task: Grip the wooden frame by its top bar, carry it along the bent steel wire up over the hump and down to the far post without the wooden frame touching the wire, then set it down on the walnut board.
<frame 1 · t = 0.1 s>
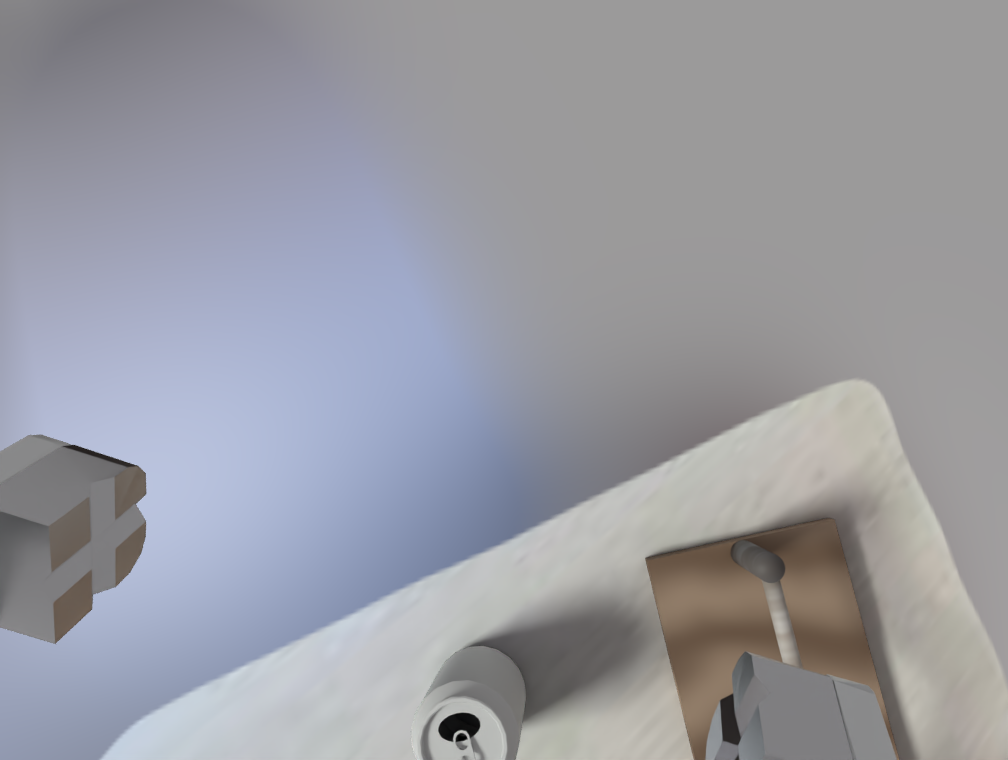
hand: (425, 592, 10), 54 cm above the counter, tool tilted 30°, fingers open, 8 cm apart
can: (481, 689, 63), on the counter
buzz board: (785, 732, 61), on the counter
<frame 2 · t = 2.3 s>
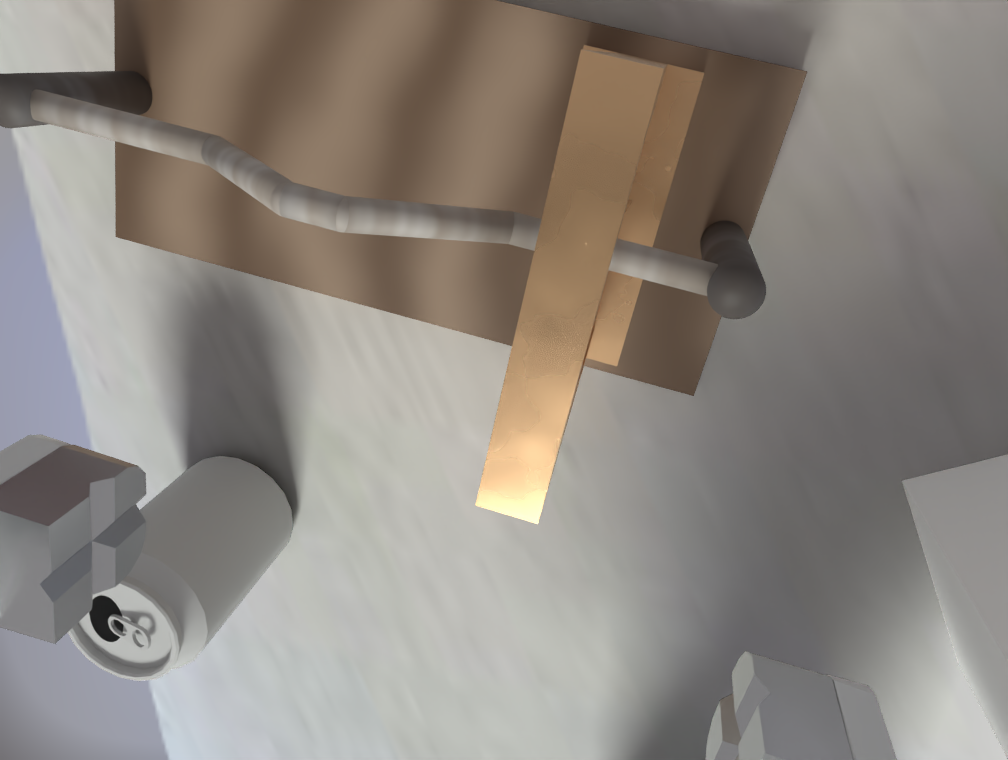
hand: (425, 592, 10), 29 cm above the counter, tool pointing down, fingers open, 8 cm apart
can: (244, 501, 48), on the counter
wooden frame: (603, 212, 35), point 1 cm above the counter, touching buzz board
buzz board: (425, 161, 37), on the counter
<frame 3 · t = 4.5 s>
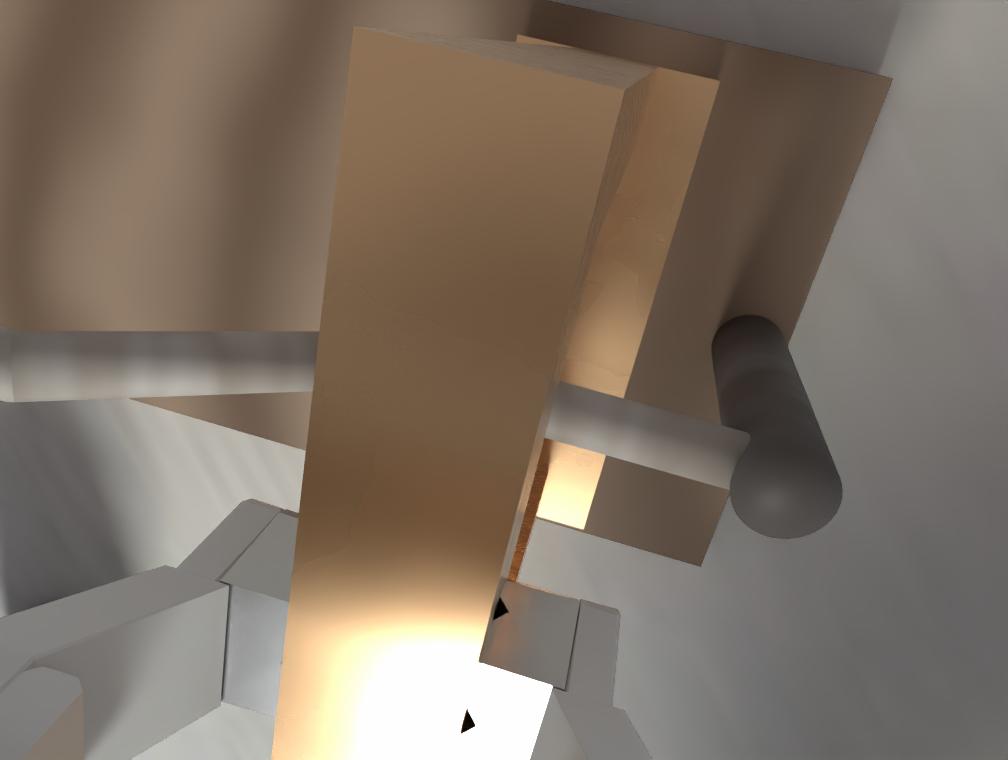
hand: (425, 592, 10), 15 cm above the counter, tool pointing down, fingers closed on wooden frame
wooden frame: (560, 298, 22), point 1 cm above the counter, touching buzz board, gripper
buzz board: (293, 213, 25), on the counter
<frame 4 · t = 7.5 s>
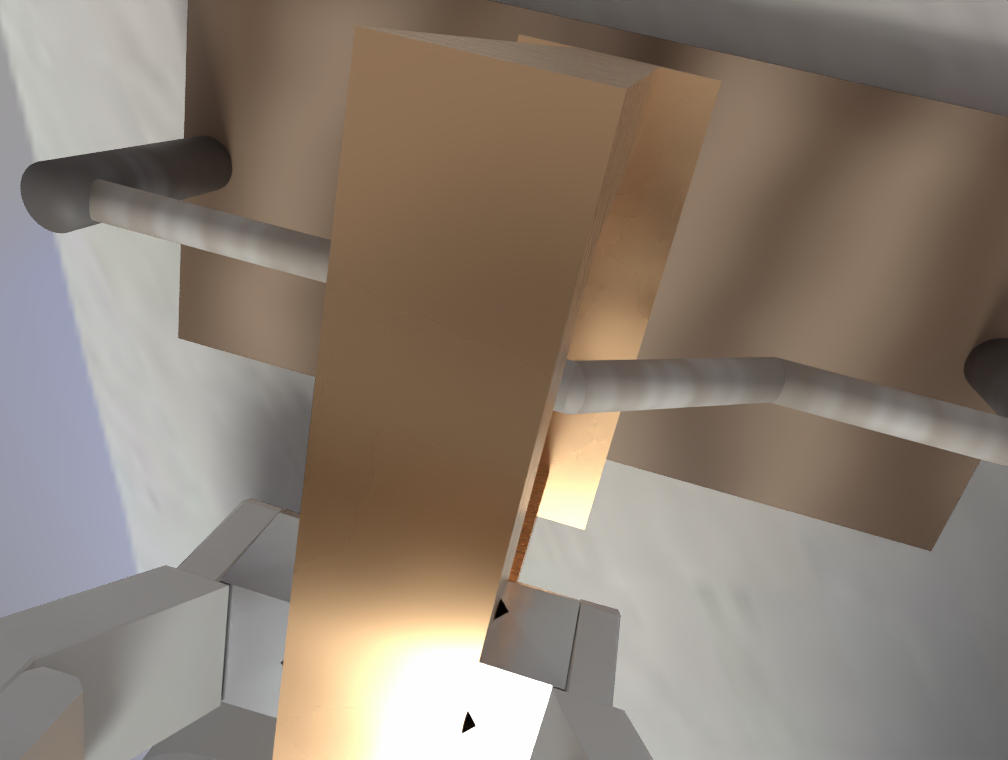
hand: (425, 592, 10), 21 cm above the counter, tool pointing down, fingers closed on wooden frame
can: (324, 640, 39), on the counter
wooden frame: (561, 298, 22), point 7 cm above the counter, touching gripper
buzz board: (585, 250, 29), on the counter
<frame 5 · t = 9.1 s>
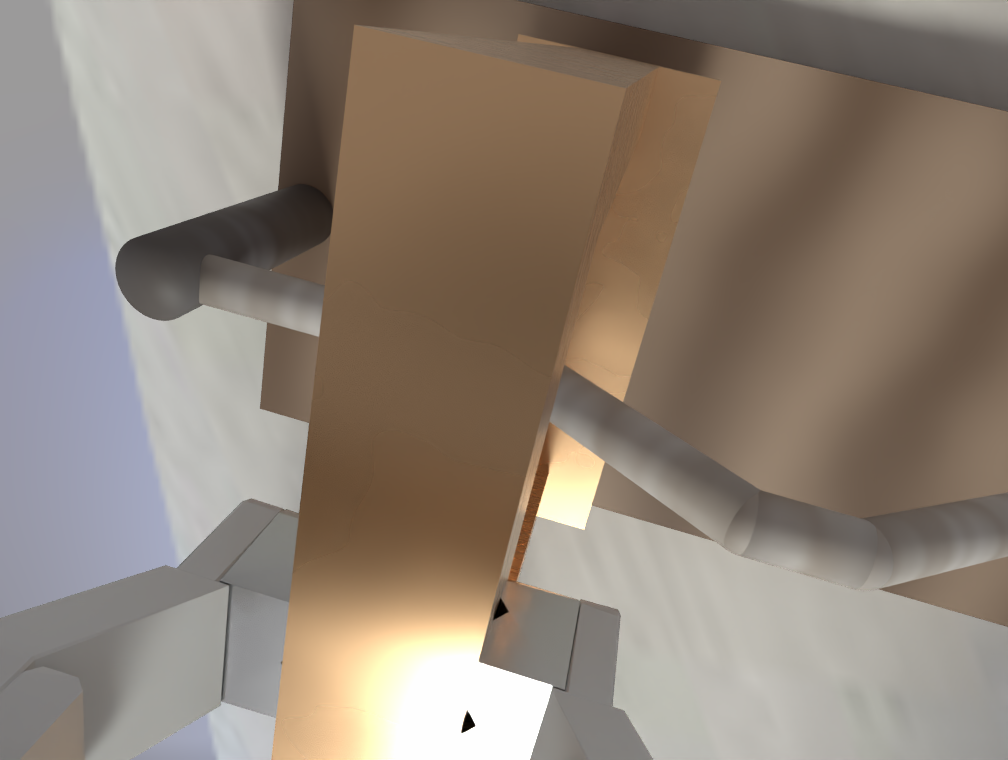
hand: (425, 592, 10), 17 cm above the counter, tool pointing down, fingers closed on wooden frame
wooden frame: (560, 298, 22), point 3 cm above the counter, touching gripper
buzz board: (743, 317, 25), on the counter
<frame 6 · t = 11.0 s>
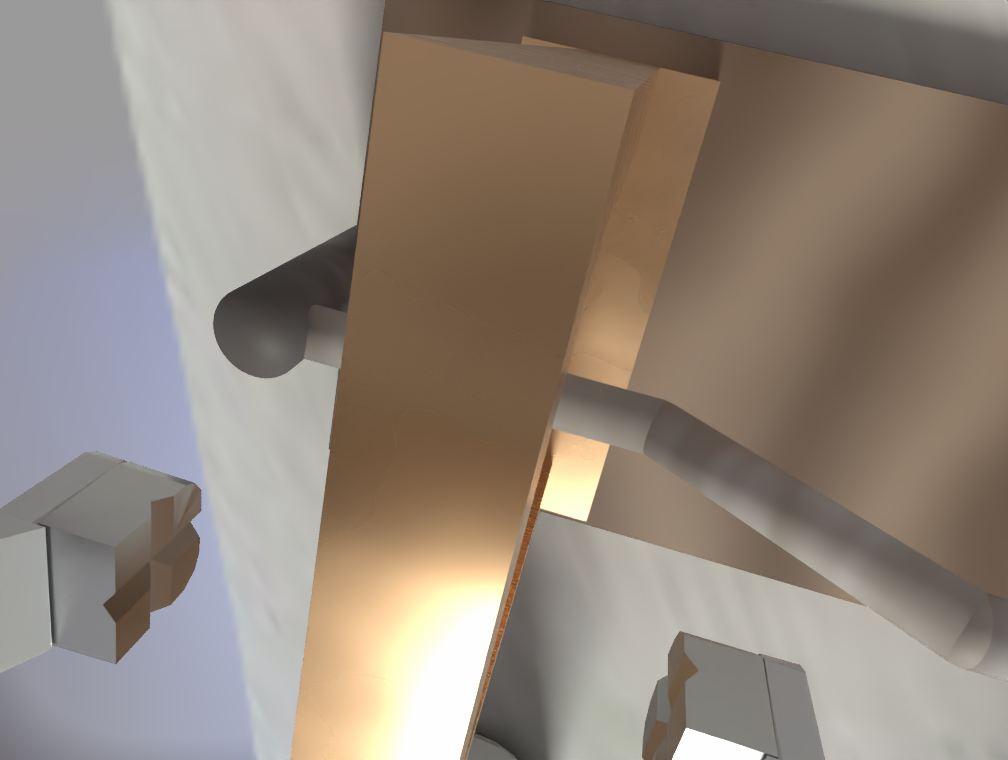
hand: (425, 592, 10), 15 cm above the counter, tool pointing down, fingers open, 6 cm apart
wooden frame: (563, 295, 23), point 1 cm above the counter, touching buzz board
buzz board: (856, 356, 23), on the counter
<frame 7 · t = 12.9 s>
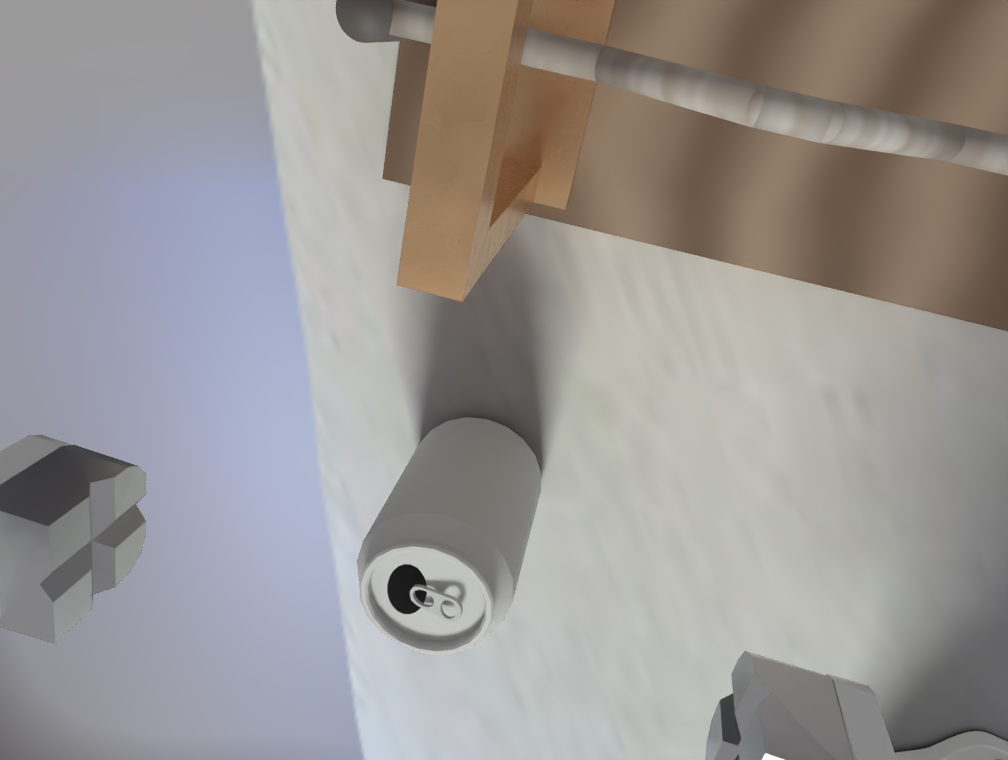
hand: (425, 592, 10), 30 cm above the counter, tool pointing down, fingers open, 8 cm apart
can: (480, 465, 45), on the counter
wooden frame: (547, 43, 33), point 1 cm above the counter, touching buzz board
buzz board: (746, 86, 34), on the counter
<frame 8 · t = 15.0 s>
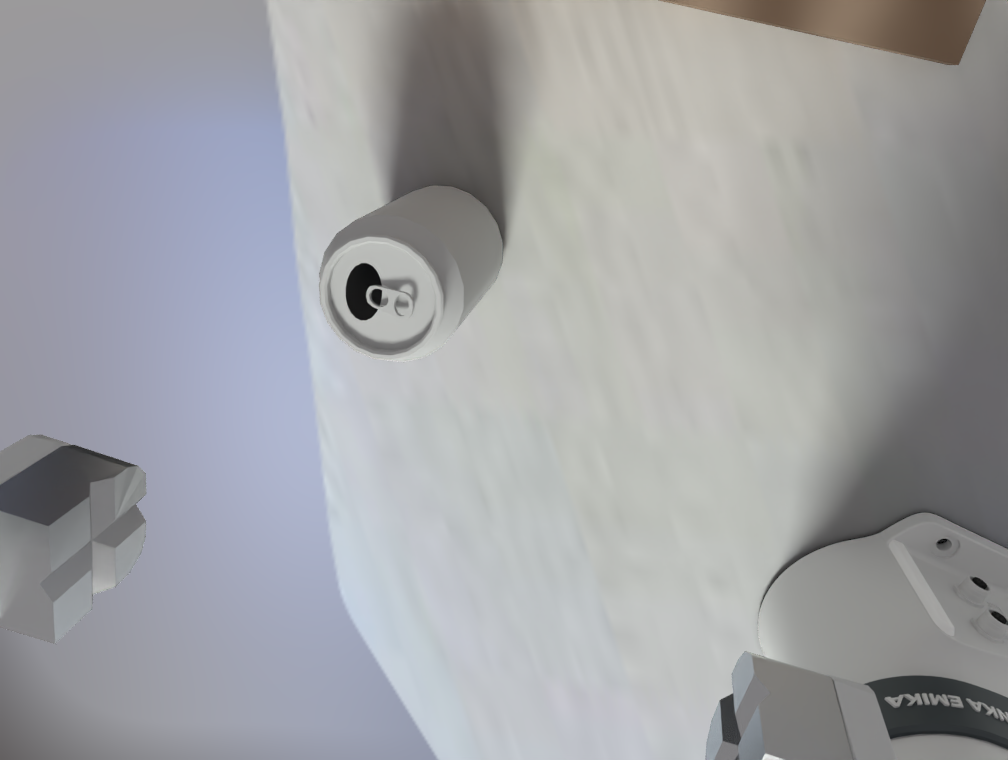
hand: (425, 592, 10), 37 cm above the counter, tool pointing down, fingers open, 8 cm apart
can: (447, 244, 47), on the counter
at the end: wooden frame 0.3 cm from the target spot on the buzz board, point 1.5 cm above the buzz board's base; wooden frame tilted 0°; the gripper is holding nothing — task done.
